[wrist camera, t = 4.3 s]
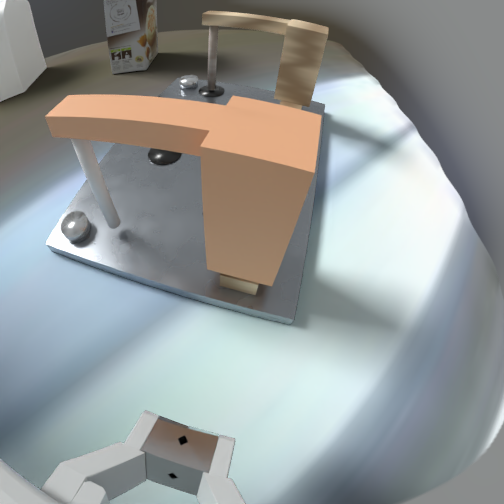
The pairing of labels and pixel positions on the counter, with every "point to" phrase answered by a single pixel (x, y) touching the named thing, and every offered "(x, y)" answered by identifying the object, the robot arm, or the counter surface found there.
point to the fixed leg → (289, 77)
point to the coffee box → (131, 34)
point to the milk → (18, 48)
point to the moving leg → (211, 166)
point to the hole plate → (175, 220)
